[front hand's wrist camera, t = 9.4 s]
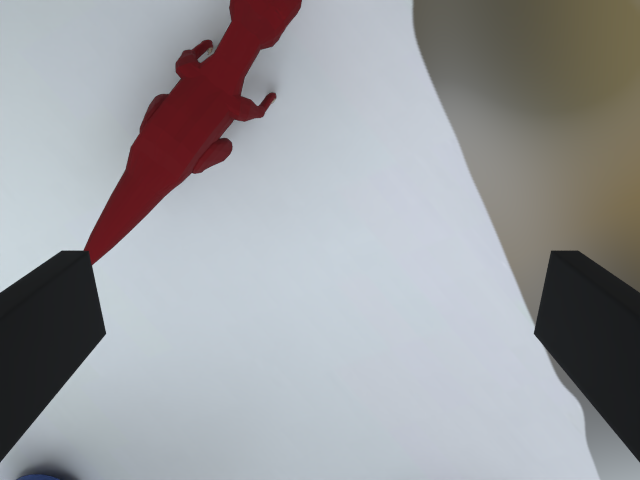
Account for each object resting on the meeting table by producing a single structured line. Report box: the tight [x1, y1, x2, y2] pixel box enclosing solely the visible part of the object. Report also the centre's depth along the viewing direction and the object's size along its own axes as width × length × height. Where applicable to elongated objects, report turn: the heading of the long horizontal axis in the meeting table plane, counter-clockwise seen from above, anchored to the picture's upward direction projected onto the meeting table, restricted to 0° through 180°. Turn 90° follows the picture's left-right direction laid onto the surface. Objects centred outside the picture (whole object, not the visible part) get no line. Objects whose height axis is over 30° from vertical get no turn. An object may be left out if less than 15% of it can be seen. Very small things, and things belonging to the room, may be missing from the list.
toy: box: [84, 0, 302, 265], centre depth 30 cm, size 7×25×15 cm
